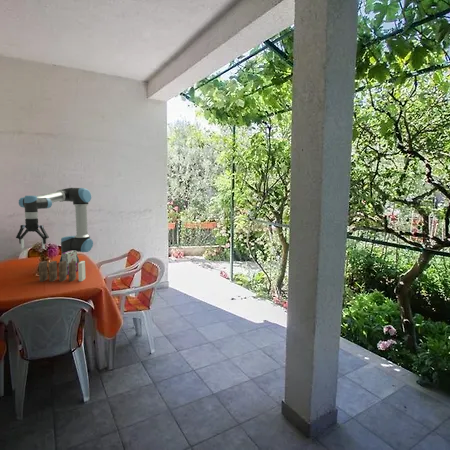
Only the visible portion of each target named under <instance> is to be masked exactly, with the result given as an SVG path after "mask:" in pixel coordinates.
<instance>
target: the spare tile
mask: <svg viewBox="0 0 450 450" xmlns="http://www.w3.org/2000/svg"><path fill="white" fill-rule="evenodd" d="M77 269H78V271H77V272H78V274H77V275H78V282H83V281H85V279H86V261H85V260H80V261H79V262H78V263H77Z"/></svg>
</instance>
